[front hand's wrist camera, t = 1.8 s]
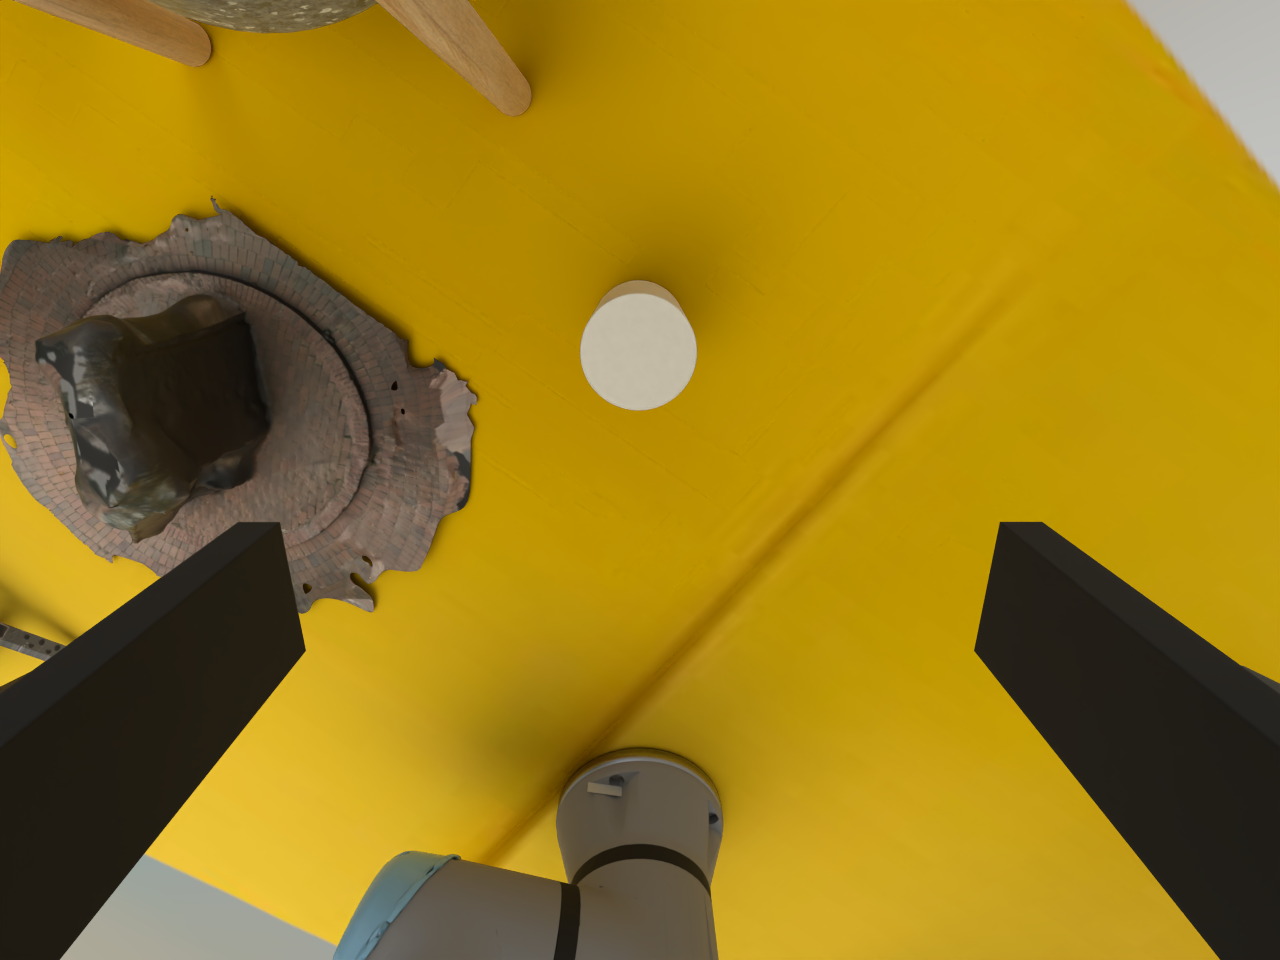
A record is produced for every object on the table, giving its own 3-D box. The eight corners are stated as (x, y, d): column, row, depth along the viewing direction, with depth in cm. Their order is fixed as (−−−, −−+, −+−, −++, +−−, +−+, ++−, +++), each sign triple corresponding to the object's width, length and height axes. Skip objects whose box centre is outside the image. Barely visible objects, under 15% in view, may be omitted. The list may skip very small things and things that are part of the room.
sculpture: (213, 59, 42) (-21, -37, 27) (554, 489, 52) (519, 593, 37) (-107, 361, 49) (-438, 418, 34) (250, 693, 58) (117, 851, 44)
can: (704, 326, 48) (721, 351, 38) (640, 392, 50) (640, 433, 40) (636, 259, 46) (636, 266, 36) (573, 330, 48) (555, 355, 38)
